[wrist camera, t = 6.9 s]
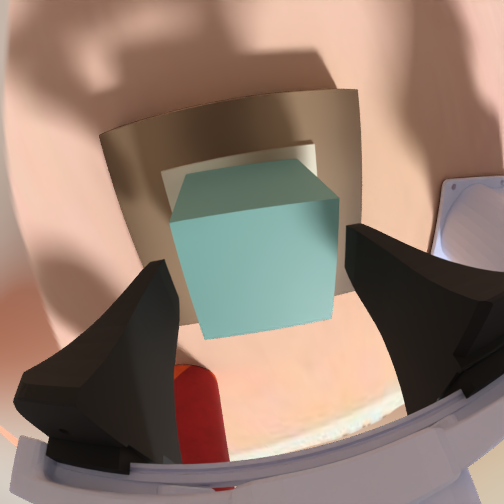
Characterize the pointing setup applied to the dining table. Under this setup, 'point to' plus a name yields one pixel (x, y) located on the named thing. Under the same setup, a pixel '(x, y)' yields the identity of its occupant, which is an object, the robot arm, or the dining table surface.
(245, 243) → the teal block
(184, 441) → the paper cup
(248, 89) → the dining table surface
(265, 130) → the walnut base
